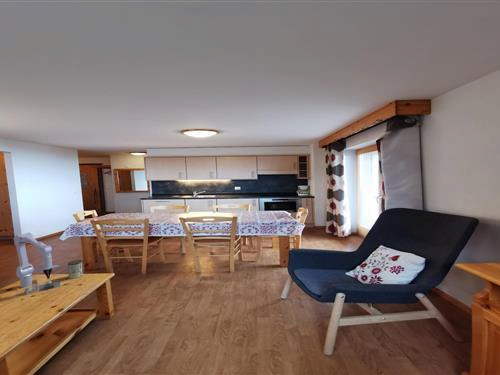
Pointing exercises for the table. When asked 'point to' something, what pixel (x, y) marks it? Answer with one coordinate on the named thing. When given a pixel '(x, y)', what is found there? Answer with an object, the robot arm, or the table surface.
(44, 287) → the button housing
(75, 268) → the coffee can
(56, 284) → the activity board
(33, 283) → the marker
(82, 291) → the table surface
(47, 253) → the robot arm
